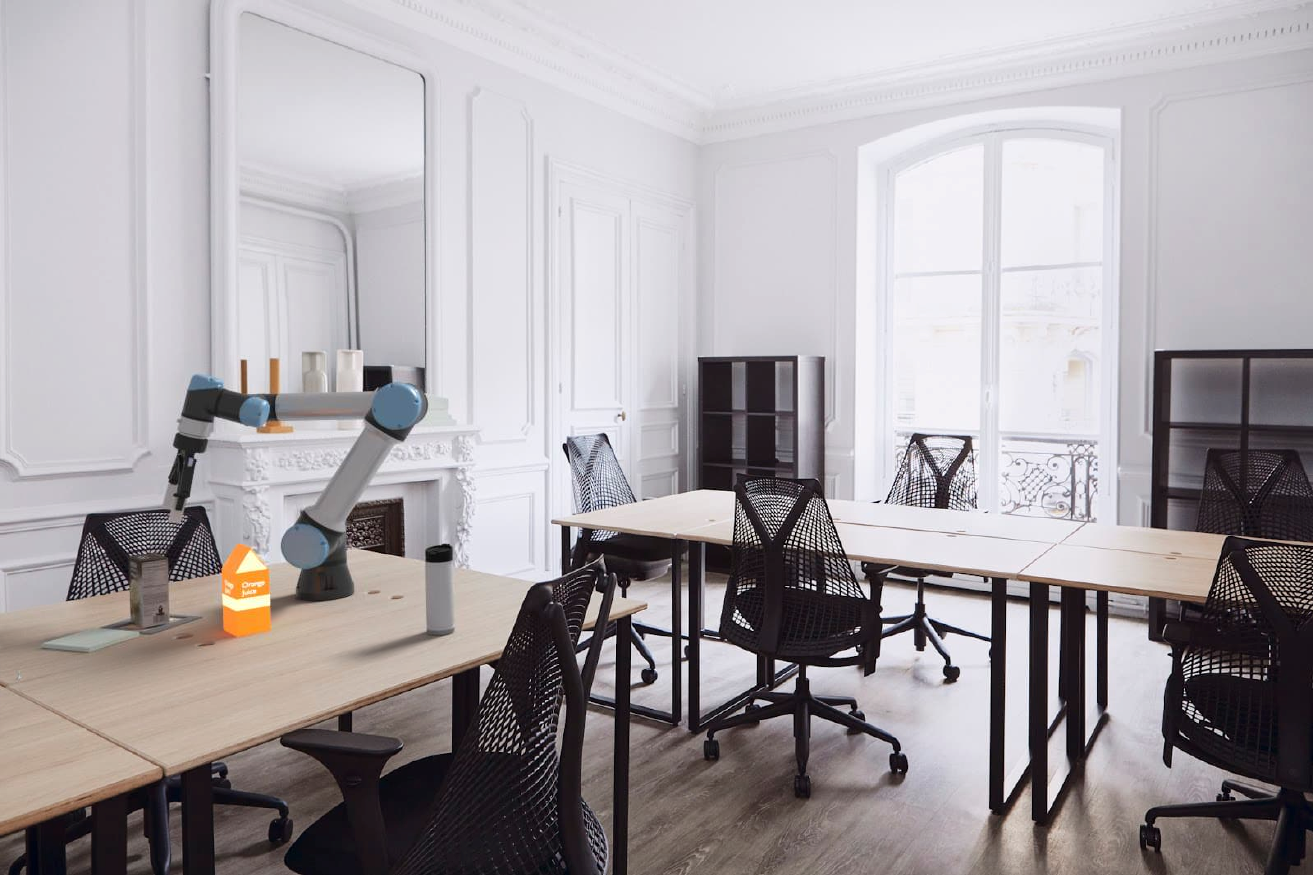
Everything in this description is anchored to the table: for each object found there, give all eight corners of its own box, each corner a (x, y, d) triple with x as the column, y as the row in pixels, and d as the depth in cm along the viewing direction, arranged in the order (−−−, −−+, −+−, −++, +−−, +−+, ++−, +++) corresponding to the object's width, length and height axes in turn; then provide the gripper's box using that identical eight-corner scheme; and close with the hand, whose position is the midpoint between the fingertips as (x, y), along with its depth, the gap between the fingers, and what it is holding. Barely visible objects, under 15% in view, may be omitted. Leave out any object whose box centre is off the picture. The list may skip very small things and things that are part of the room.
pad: (139, 636, 205) (139, 631, 205) (89, 652, 193) (89, 647, 193) (94, 632, 209) (94, 628, 209) (42, 647, 196) (42, 643, 196)
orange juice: (257, 623, 216) (254, 541, 215) (271, 630, 209) (268, 545, 208) (222, 630, 210) (219, 545, 209) (236, 637, 204) (233, 550, 203)
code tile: (202, 617, 221) (202, 616, 221) (151, 634, 207) (151, 633, 207) (149, 613, 226) (149, 612, 226) (96, 629, 211) (96, 628, 211)
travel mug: (460, 629, 209) (458, 544, 208) (445, 636, 203) (443, 549, 202) (437, 627, 211) (435, 542, 210) (421, 634, 205) (419, 547, 204)
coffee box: (129, 621, 217) (126, 555, 216) (158, 616, 222) (155, 552, 221) (142, 628, 211) (139, 560, 210) (171, 623, 215) (169, 556, 214)
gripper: (170, 423, 235) (149, 501, 236) (183, 440, 215) (160, 526, 215) (201, 429, 239) (180, 506, 240) (216, 447, 219) (193, 530, 220)
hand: (170, 515), depth 228 cm, fingers open, 13 cm apart
